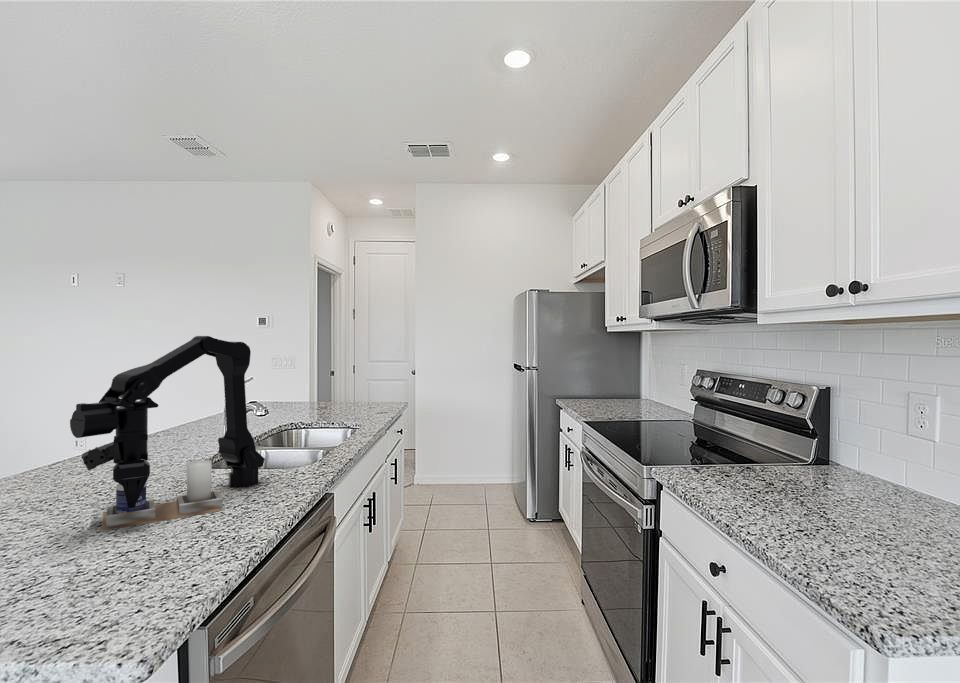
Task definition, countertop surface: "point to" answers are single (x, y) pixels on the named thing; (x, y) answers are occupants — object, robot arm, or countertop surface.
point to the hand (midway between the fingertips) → (131, 501)
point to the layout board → (161, 511)
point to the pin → (199, 481)
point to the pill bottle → (122, 502)
